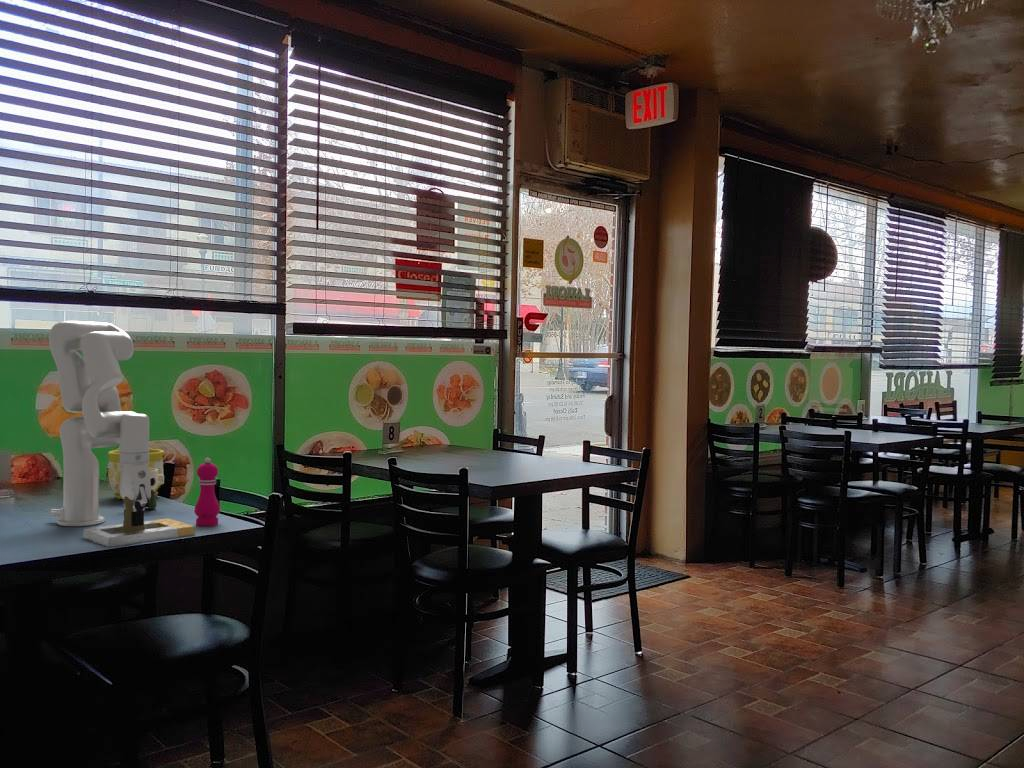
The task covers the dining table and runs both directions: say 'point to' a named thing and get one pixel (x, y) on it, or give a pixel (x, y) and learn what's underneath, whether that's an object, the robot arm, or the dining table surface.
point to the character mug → (153, 487)
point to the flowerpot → (115, 468)
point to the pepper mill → (207, 495)
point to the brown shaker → (127, 517)
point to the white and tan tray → (139, 532)
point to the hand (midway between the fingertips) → (133, 523)
